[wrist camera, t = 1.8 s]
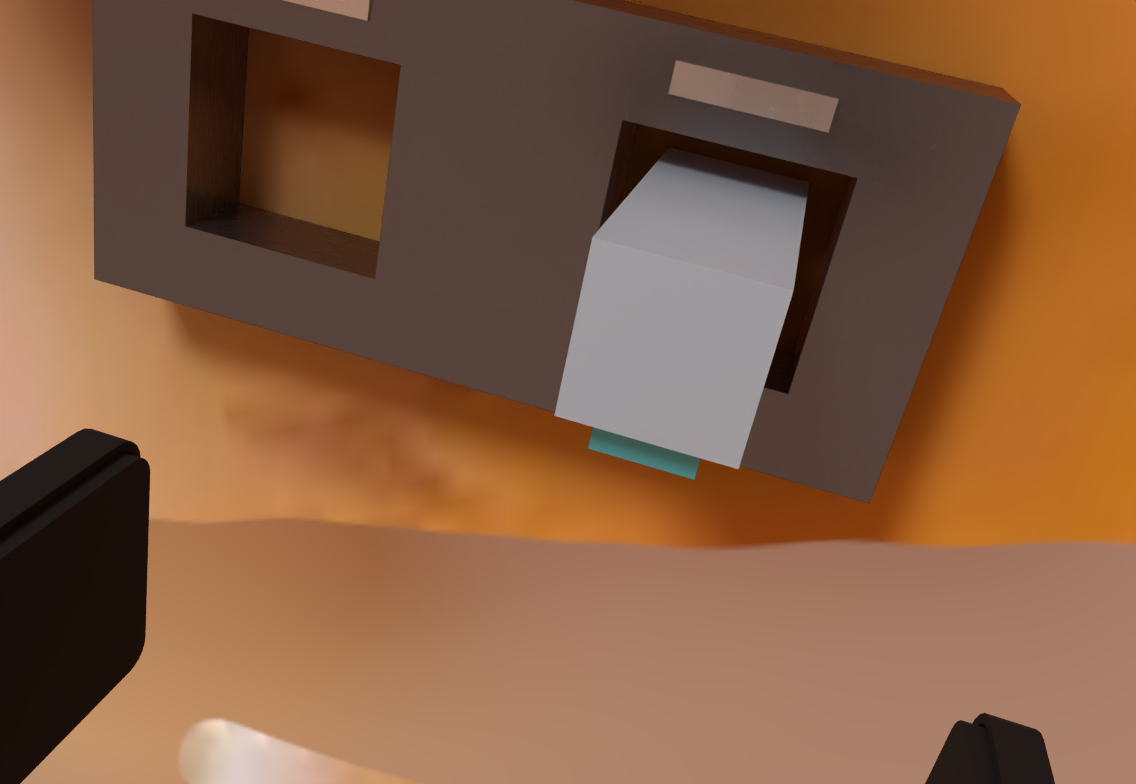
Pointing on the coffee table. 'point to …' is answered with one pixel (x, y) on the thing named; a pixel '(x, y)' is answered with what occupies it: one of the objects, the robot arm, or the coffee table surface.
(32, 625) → the robot arm
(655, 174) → the plug
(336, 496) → the coffee table surface
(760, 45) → the panel
